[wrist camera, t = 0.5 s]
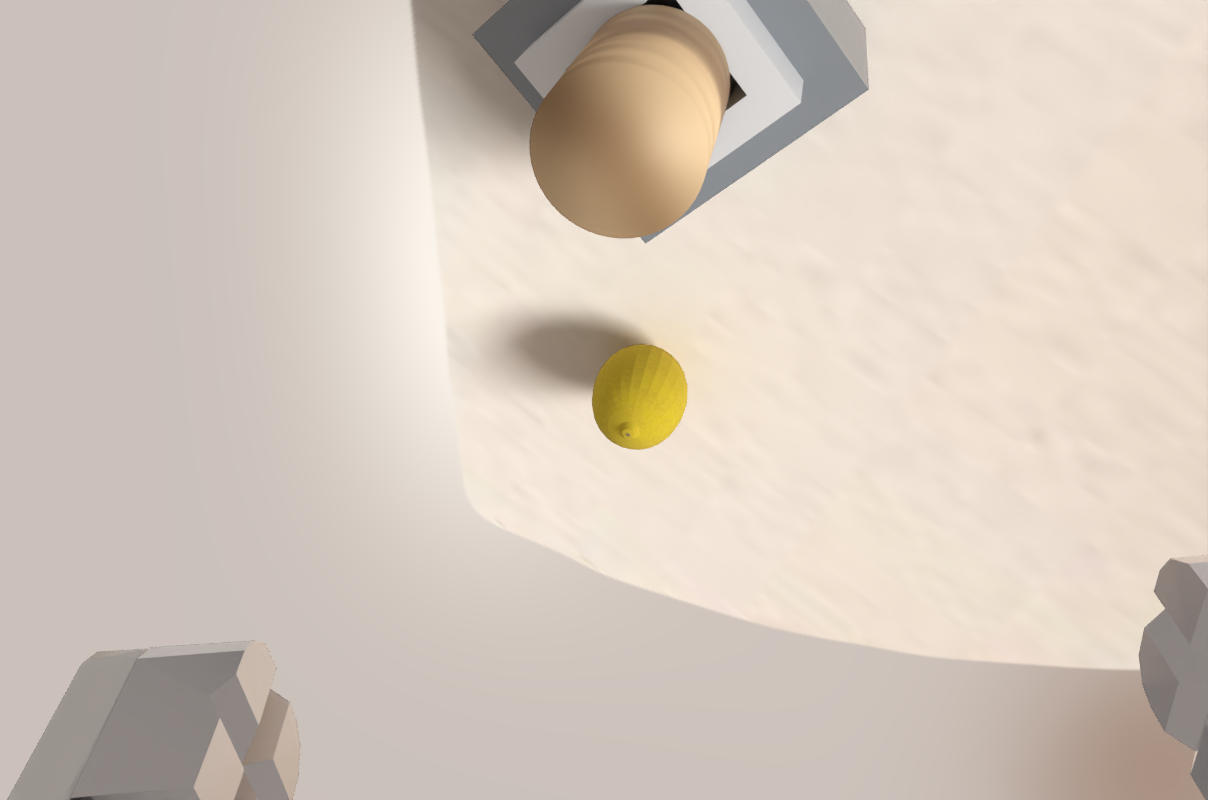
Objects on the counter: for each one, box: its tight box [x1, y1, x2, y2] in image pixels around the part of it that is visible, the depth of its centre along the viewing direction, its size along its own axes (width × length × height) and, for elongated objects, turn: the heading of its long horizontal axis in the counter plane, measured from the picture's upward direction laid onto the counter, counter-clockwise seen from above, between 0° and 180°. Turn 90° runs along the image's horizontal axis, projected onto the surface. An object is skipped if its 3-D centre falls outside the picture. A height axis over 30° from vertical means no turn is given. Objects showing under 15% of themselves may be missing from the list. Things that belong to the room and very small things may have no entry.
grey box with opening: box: [473, 0, 869, 243], centre depth 46 cm, size 12×12×13 cm
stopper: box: [530, 5, 730, 238], centre depth 38 cm, size 6×6×11 cm
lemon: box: [592, 344, 687, 450], centre depth 60 cm, size 6×6×8 cm
